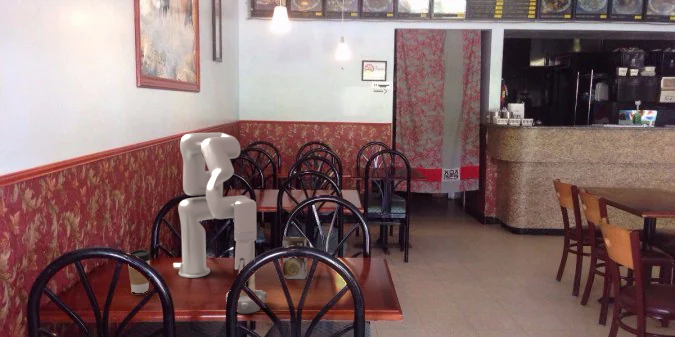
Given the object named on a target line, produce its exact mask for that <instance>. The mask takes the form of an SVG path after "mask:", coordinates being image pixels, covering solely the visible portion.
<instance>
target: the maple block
mask: <svg viewBox="0 0 675 337" xmlns="http://www.w3.org/2000/svg"><path fill="white" fill-rule="evenodd" d="M255 275H256V272H255V273H254V274H253V275H252V276H251V277H250V278H249V288H250V289H251V290H252V291H253V292H255V289H256V281H255V279H256V276H255ZM240 296H248V295H247V294H246V293H245V292H244V291H243V290H242V291H241V293H240Z"/></svg>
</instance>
